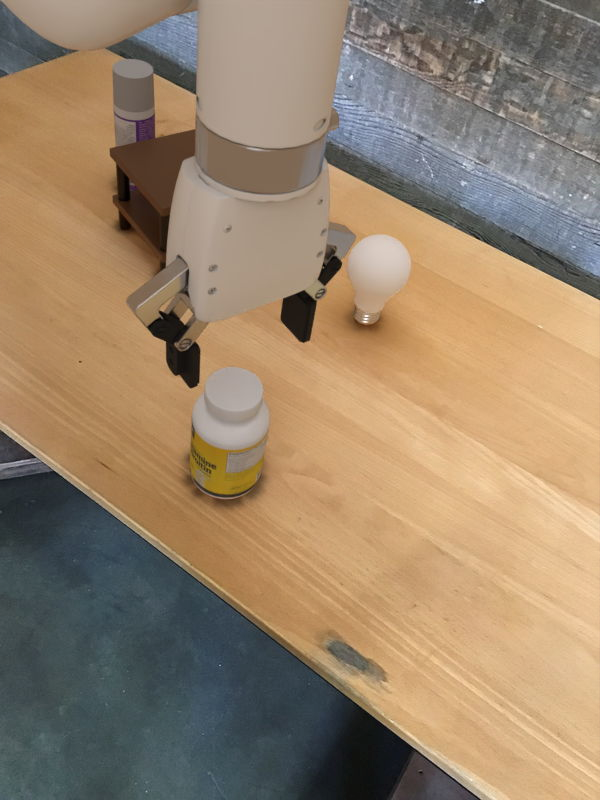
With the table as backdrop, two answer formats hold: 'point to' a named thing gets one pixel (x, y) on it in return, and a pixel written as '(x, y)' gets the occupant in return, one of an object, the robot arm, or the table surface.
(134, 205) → the stand
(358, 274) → the light bulb
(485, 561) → the table surface
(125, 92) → the container
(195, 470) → the pill bottle
